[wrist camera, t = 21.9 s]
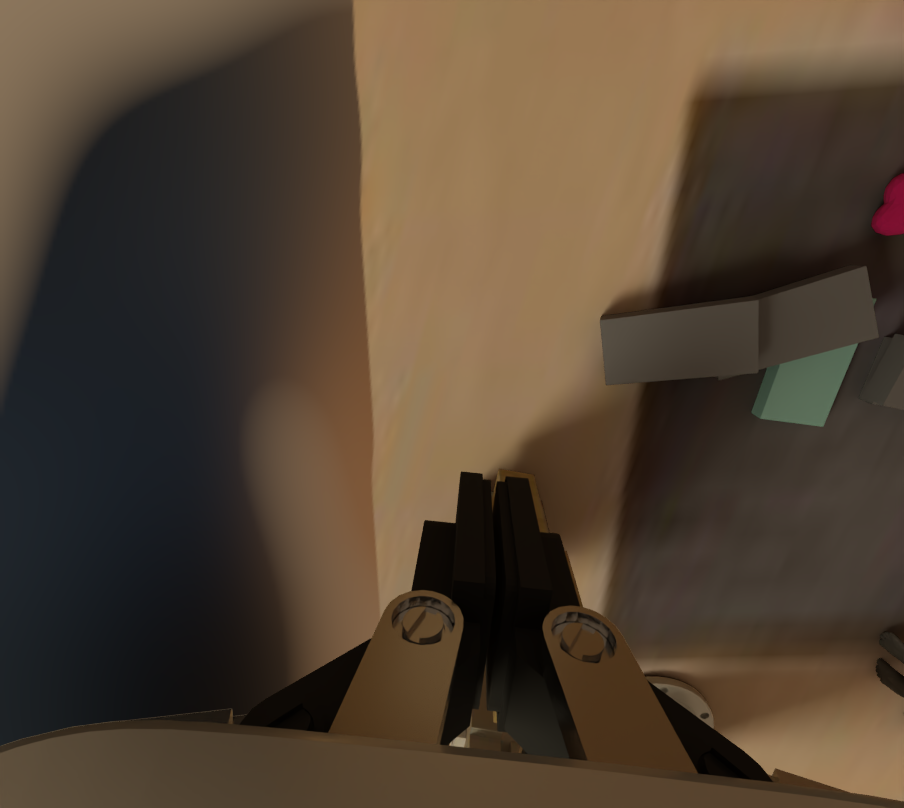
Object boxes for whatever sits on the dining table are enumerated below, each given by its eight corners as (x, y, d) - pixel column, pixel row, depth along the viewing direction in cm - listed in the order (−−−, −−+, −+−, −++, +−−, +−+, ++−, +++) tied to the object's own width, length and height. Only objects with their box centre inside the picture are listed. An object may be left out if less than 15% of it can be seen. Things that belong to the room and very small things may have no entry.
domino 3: (789, 287, 36) (746, 409, 39) (807, 290, 34) (760, 418, 37) (855, 295, 36) (806, 417, 39) (876, 299, 34) (823, 426, 37)
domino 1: (607, 377, 38) (751, 365, 34) (606, 385, 36) (758, 372, 32) (601, 316, 36) (751, 296, 33) (600, 320, 35) (758, 300, 31)
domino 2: (711, 374, 37) (862, 332, 34) (718, 380, 35) (878, 337, 32) (696, 313, 36) (849, 265, 33) (702, 316, 34) (866, 265, 31)
